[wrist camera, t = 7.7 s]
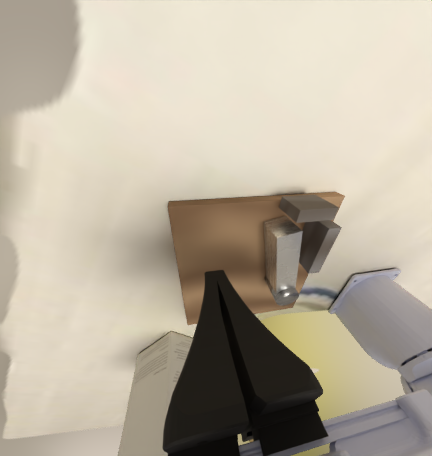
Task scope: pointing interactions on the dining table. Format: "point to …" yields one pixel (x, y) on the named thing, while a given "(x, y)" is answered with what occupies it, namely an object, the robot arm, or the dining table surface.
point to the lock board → (247, 243)
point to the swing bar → (282, 258)
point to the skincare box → (153, 395)
